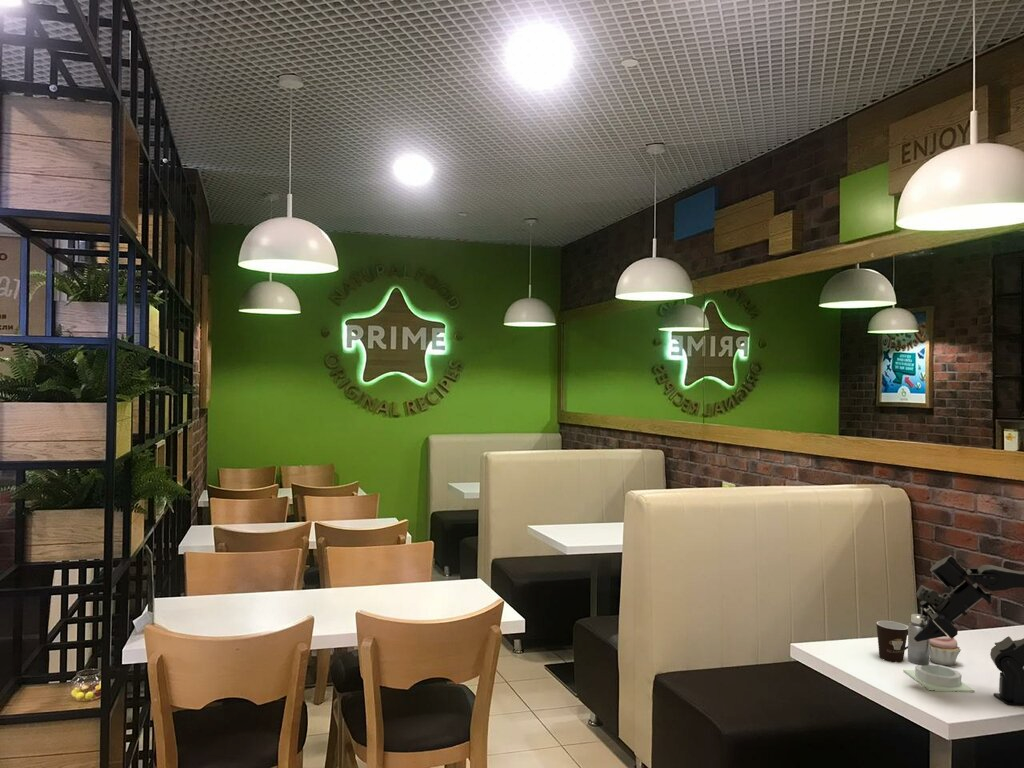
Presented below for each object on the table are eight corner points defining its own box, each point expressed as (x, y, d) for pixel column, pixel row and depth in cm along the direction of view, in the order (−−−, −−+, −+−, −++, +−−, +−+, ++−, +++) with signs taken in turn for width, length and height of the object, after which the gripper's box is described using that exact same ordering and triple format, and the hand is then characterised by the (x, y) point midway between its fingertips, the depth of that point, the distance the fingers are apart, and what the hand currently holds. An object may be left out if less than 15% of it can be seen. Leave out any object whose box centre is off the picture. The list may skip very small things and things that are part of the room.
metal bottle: (933, 665, 207) (934, 618, 207) (913, 665, 207) (914, 618, 207) (922, 659, 212) (923, 613, 212) (903, 658, 212) (904, 612, 212)
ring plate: (974, 692, 207) (974, 681, 207) (929, 690, 207) (929, 679, 207) (945, 672, 221) (945, 662, 221) (903, 671, 221) (903, 660, 221)
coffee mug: (874, 660, 230) (875, 626, 230) (876, 651, 237) (877, 619, 237) (918, 667, 224) (919, 633, 224) (918, 659, 232) (919, 625, 232)
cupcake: (917, 658, 232) (918, 625, 232) (939, 655, 236) (940, 622, 236) (946, 669, 224) (947, 635, 224) (967, 665, 227) (968, 631, 227)
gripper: (929, 569, 217) (885, 604, 220) (944, 585, 199) (896, 623, 203) (960, 600, 215) (915, 635, 218) (978, 619, 197) (929, 657, 200)
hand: (913, 637), depth 210 cm, fingers closed on metal bottle, 5 cm apart
